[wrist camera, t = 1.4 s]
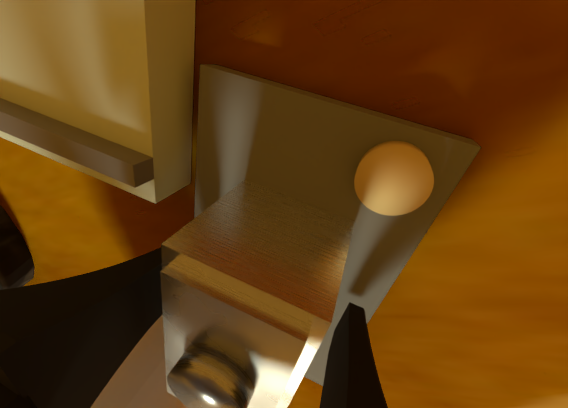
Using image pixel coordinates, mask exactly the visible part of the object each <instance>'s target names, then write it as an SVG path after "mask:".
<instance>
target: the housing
mask: <svg viewBox="0 0 568 408" xmlns="http://www.w3.org/2000/svg"><path fill="white" fill-rule="evenodd" d="M354 224H355V221H353V220H350V219H348V218H345V217H342V216H340V215H337V214H335V213H332V212H329V211H327V210H324V209H321V208H319V207H316V206H314V205H311V204H308V203H306V202H303V201H300V200H298V199H295V198H292V197H290V196H287V195H285V194H282V193H279V192H277V191H274V190H271V189H269V188H266V187H263V186H261V185H258V184H256V183H253V182H250V181H248V180H243V181H242V182H241V183H240V184H238V185H237V186H236V187H234V188H233V189H232V190H230V191H229V192H228V193H227V194H225V195H224V196H223V197H221V198H220V199H219V200H218V201H216V202H215V203H214V204H212V205H211V206H210V207H208V208H207V209H206V210H205V211H203V212H202V213H201V214H199V215H198V216H197V217H196V218H194V219H193V220H192V221H190V222H189V223H188V224H186V225H185V226H184V227H183V228H181V229H180V230H179V231H177V232H176V233H175V234H174V235H172V236H171V237H170V238H168V239H167V240H166V241H165V242H163V243H162V244H161V252H162V270H161V271H160V275H161V294H162V312H163V330H164V349H165V367H166V386H167V392H168V393H170V394H172V395H173V396H175V397H177V398H178V399H179V400H180V401H181V402H182V403H183V404H184V405H185V406H186V407H187V408H287V407H288V405H289V403H290V401H291V399H292V397H293V395H294V394H295V392H296V390H297V388H298V386H299V384H300V382H301V380H302V378H303V376H304V374H305V373H306V371H307V369H308V367H309V365H310V363H311V361H312V359H313V357H314V355H315V354H316V352H317V350H318V348H319V346H320V344H321V342H322V340H323V338H324V336H325V334H326V333H327V331H328V329H329V327H330V325H331V323H332V318H333V314H334V310H335V306H336V301H337V297H338V293H339V288H340V284H341V280H342V275H343V271H344V267H345V262H346V258H347V254H348V249H349V245H350V241H351V237H352V232H353V228H354Z"/></svg>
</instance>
